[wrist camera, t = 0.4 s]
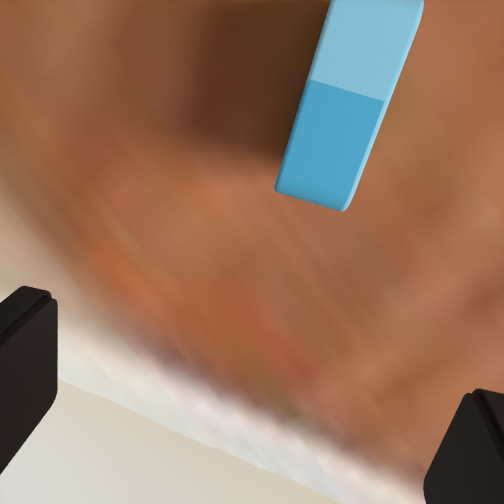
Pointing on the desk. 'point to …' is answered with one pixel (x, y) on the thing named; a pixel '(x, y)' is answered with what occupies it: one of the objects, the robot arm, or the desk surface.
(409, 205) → the desk surface
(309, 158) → the data package
